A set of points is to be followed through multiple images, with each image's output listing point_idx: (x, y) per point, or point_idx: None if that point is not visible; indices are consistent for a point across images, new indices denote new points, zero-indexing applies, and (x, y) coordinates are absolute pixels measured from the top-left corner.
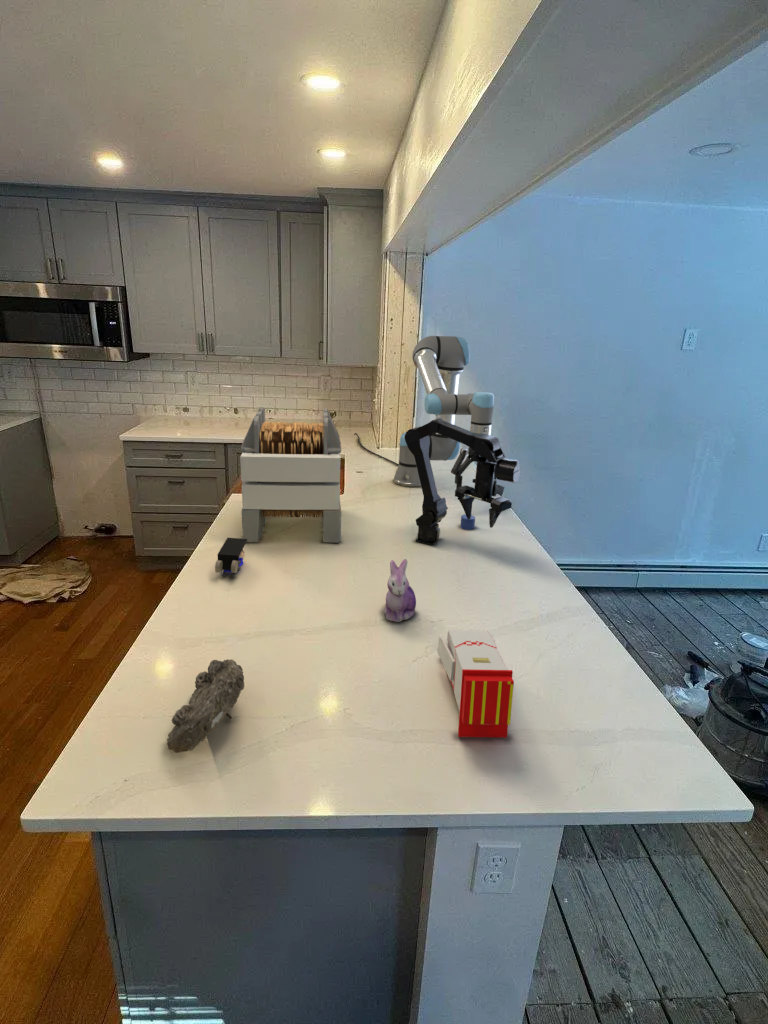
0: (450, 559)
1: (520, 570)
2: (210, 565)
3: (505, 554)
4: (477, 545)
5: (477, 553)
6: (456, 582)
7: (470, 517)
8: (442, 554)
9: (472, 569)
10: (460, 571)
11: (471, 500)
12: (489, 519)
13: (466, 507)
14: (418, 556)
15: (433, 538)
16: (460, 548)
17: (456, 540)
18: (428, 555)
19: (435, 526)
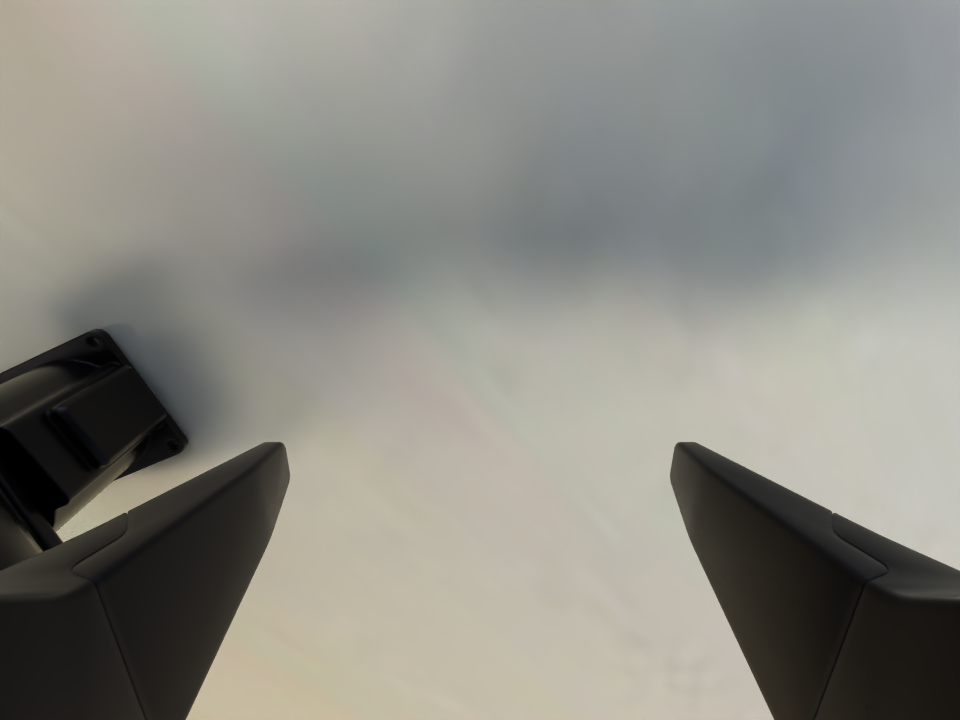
0: (427, 505)
1: (863, 281)
2: None
3: (635, 114)
4: (358, 160)
5: (471, 295)
6: (639, 657)
7: (277, 451)
8: (342, 491)
9: (608, 506)
10: (576, 569)
11: (26, 691)
12: (733, 624)
13: (187, 689)
14: (290, 603)
15: (137, 442)
16: (330, 326)
17: (183, 226)
18: (308, 558)
19: (59, 495)
